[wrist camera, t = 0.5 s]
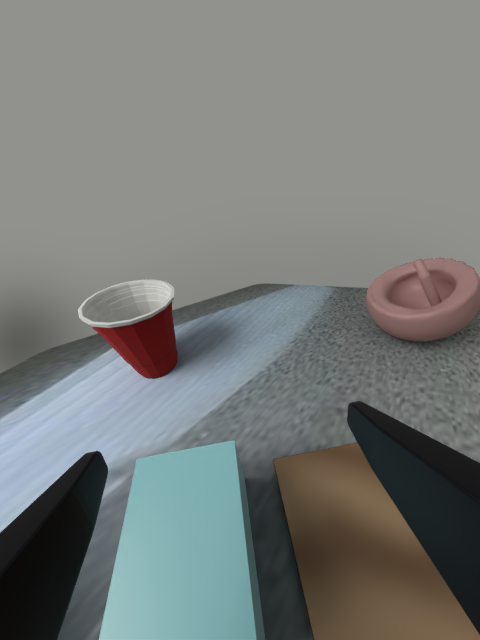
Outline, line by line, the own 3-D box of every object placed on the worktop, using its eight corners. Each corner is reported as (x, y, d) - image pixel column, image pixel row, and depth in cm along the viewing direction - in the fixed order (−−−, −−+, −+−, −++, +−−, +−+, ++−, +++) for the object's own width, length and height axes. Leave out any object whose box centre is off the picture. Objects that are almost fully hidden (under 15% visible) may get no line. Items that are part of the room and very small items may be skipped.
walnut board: (561, 770, 11) (569, 775, 10) (356, 825, 10) (358, 831, 10) (371, 442, 22) (372, 439, 22) (273, 461, 22) (273, 459, 22)
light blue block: (270, 676, 13) (265, 717, 8) (150, 703, 13) (72, 764, 8) (244, 478, 21) (234, 440, 16) (170, 493, 21) (136, 458, 16)
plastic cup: (209, 358, 34) (190, 289, 26) (144, 409, 28) (96, 339, 21) (171, 329, 40) (147, 267, 33) (111, 366, 34) (66, 301, 27)
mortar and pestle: (348, 309, 39) (363, 244, 32) (422, 306, 38) (455, 237, 31) (376, 361, 30) (406, 286, 23) (476, 359, 29) (540, 279, 22)
